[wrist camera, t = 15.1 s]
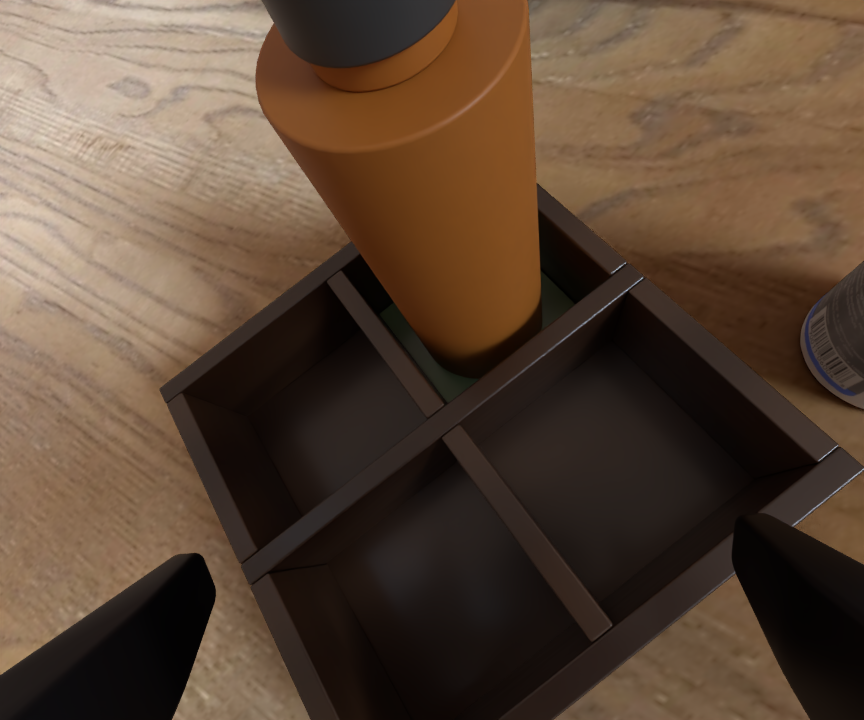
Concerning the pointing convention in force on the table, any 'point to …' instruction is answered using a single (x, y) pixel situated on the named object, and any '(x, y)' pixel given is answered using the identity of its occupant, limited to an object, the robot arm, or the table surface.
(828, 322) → the pill bottle
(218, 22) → the table surface
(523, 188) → the amber bottle
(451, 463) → the rack
